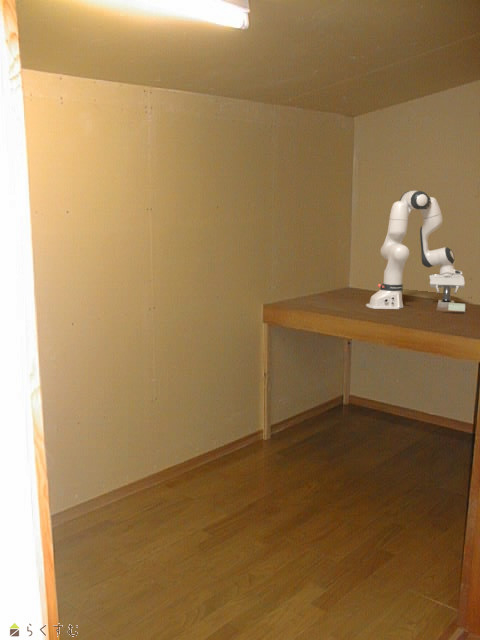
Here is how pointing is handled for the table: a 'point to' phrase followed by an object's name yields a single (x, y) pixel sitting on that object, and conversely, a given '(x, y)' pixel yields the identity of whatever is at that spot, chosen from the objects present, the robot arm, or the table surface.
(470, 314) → the table surface
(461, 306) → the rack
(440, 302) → the socket
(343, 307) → the table surface
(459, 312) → the tool board
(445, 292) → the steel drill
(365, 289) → the table surface
